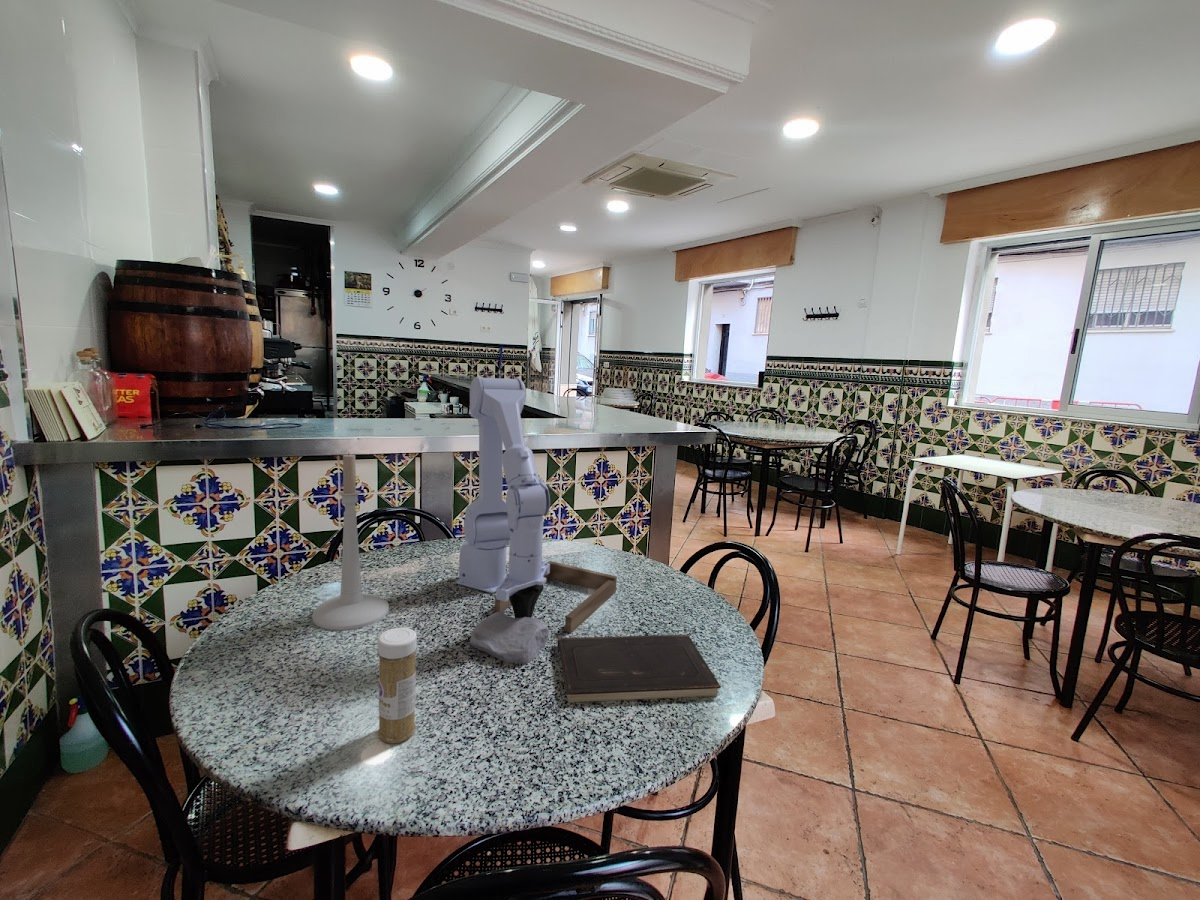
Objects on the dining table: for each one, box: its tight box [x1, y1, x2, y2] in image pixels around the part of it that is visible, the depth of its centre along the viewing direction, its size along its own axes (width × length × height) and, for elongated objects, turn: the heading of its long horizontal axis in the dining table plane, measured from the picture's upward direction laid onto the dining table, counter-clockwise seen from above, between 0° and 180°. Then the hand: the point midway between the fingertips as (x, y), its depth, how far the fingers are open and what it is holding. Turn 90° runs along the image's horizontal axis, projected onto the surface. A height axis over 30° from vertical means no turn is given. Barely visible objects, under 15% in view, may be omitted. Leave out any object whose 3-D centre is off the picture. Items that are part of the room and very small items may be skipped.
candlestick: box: [311, 452, 390, 631], centre depth 97 cm, size 13×13×30 cm
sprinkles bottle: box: [377, 627, 418, 744], centre depth 68 cm, size 5×5×14 cm
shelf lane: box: [494, 560, 618, 634], centre depth 109 cm, size 16×21×4 cm
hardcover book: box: [557, 634, 722, 703], centre depth 87 cm, size 16×23×2 cm
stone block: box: [469, 611, 550, 664], centre depth 92 cm, size 12×5×10 cm
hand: (523, 623), depth 97 cm, fingers closed
